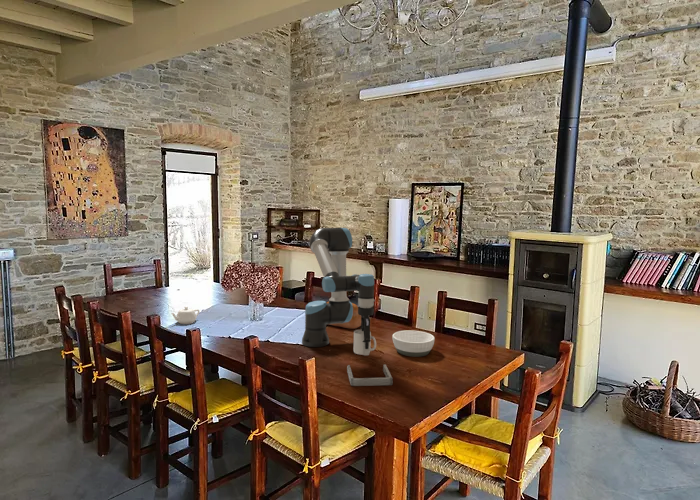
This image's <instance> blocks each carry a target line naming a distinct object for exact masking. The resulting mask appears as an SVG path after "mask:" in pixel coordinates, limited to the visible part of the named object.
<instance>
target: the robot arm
mask: <svg viewBox="0 0 700 500" xmlns="http://www.w3.org/2000/svg"><path fill="white" fill-rule="evenodd" d="M308 243H309V248H310V251H311V252H312V253H314V256H315V258H316V261H317V264H318V265H319V268H320V272H321V273H322V276H323V278H322V281H321V287H322V290H323V292H325V293H331V297H330V298H329V299H328V302H329V303H327V301H326V300H314V301H310V302H308V303H307V304H306V305H305V310H304V311H305V312H304V315H305V317H304V320H305V321H304V323H305V324H304V327H305V328H304V329H305V330H304V332H303V335H302V339H301V344H302V345H303V346H305V347H309V348H321V347H325V346H328V345H329V344H330V338H329V335H328V331H327V325H328V324H335V323H346V322H349V321H350V320H351V318H352V315H353V305H352V303H353V302H351V301H350V299H349V298H348V295H347V292H354V291H355V292H358V295H357V306H358V314H359V315H360V316H361V326H360V329H362V331H364V341H363V342H364V350H363V355H362V356H370V353H369V342H370V331H371V318H370V316H373V315H374V311H375V310H374V309H375V308H374V306H375V305H374V302H375V301H376V299H374V298H375V276H374V275H373V274H372V273H371V274H370V273H360V274H357V273H356V274H352V275H347V254H348V253H349V252H350V250H349V249H351V248H352V247H353V236H352V233H351V231H350V230H349V229H348V228H347V227H320V228H317V229H315V231H314V232H313V233H312V234H311V236H310V238H309V242H308Z"/></svg>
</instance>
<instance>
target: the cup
mask: <svg viewBox="0 0 700 500" xmlns="http://www.w3.org/2000/svg"><path fill="white" fill-rule="evenodd" d="M371 340H373V347H371V342H372V341H371ZM363 341H364V331H362V329H361V328H360V329H355V330H353V349H352V350H353V353H354V354H355V355H356V354H357V355H362V356H364V355H363V350H364V342H363ZM376 348H377V340H376V338H375V336H373V335H372V332H371V330H370V342H369V354H370V353H371V352H373V351H375V350H376Z"/></svg>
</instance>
